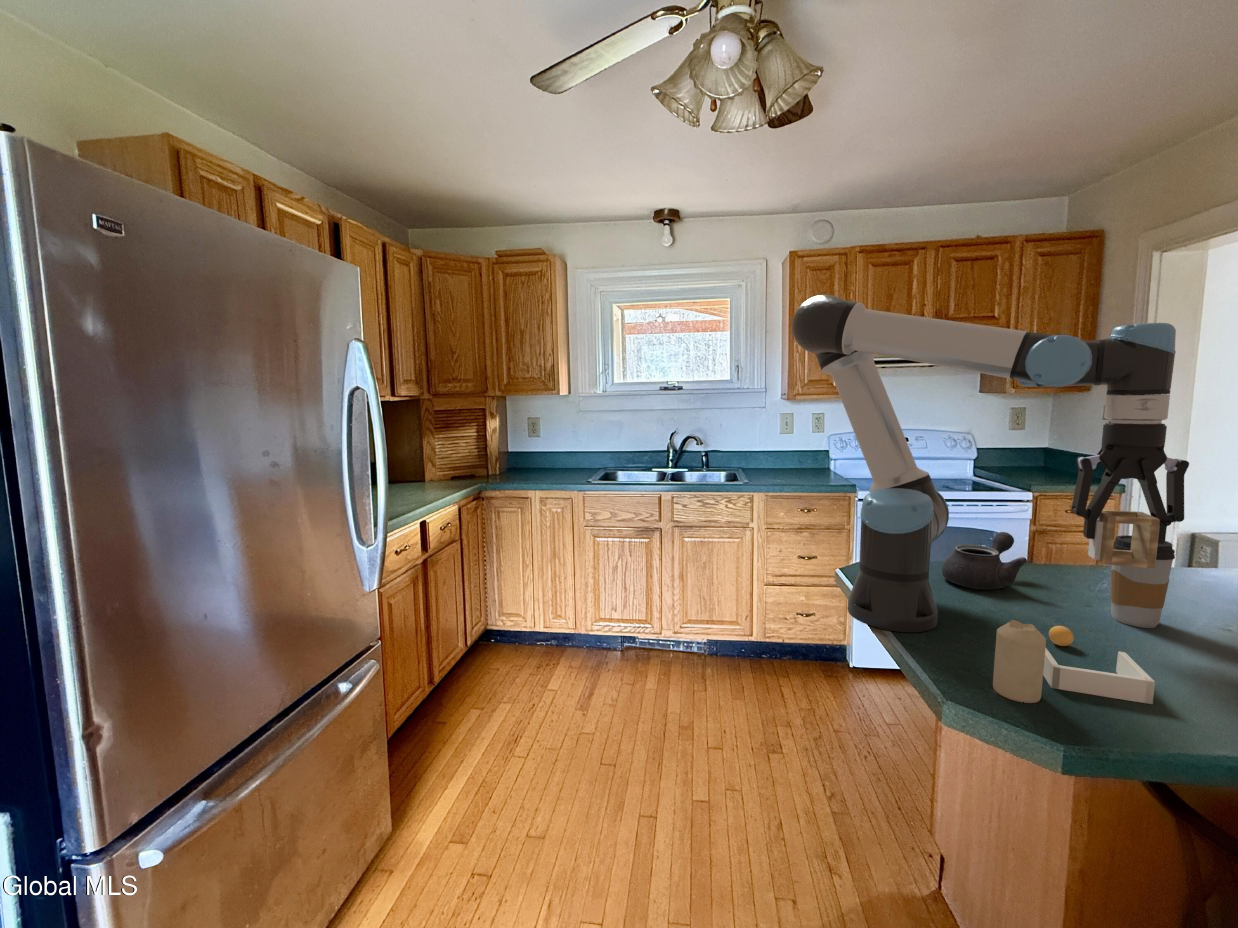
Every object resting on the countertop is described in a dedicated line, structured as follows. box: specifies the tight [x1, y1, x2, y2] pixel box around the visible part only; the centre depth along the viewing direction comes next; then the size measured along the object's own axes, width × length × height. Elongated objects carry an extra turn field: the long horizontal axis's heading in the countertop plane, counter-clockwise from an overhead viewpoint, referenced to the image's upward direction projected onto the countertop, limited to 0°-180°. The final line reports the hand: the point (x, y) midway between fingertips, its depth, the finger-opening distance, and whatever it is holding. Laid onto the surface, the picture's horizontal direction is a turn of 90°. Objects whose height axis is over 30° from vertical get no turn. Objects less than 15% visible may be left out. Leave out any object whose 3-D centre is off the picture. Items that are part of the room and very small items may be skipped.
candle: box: [992, 619, 1047, 704], centre depth 76 cm, size 6×6×10 cm
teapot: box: [941, 531, 1029, 590], centre depth 120 cm, size 19×15×10 cm
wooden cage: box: [1098, 509, 1160, 568], centre depth 91 cm, size 6×6×8 cm
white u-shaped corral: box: [1043, 648, 1156, 705], centre depth 79 cm, size 11×9×3 cm
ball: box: [1048, 625, 1075, 647], centre depth 90 cm, size 3×3×3 cm
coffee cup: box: [1110, 534, 1176, 629], centre depth 98 cm, size 8×8×15 cm
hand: (1120, 559), depth 91 cm, fingers closed on wooden cage, 6 cm apart
